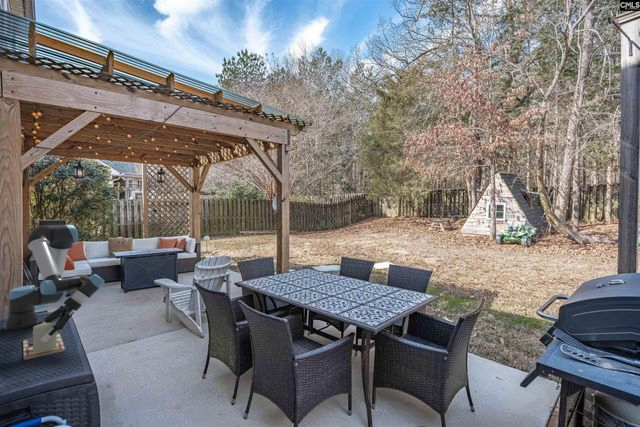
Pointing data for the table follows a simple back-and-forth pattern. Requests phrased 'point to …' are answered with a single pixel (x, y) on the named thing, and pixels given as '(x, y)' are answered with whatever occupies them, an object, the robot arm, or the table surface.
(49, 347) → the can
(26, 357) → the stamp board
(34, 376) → the table surface
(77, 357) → the table surface
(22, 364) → the table surface
